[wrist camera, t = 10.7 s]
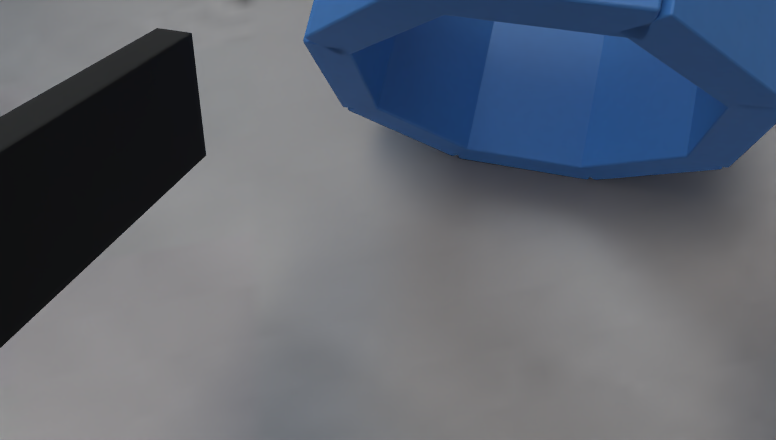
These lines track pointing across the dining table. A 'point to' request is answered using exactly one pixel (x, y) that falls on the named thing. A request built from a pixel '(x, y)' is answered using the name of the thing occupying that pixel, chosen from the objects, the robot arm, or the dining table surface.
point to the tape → (558, 79)
